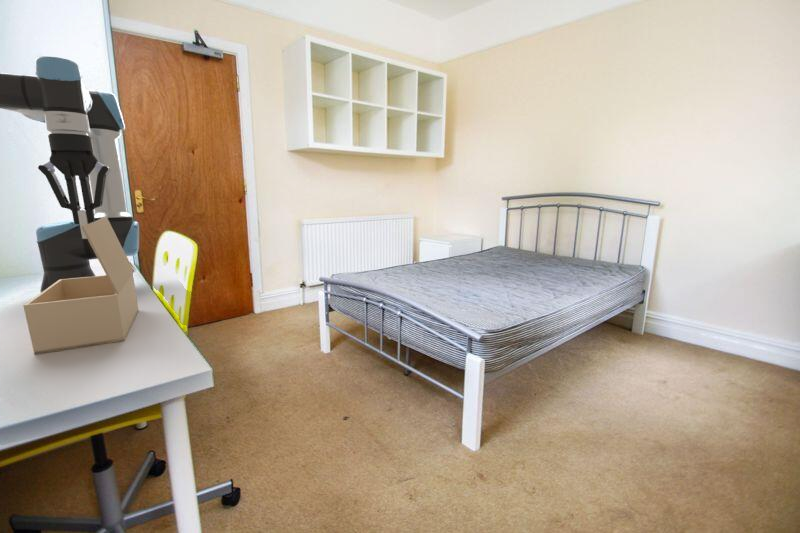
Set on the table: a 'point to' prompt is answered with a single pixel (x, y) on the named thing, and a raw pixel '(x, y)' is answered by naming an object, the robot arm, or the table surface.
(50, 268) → the robot arm
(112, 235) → the carton lid
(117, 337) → the carton
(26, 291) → the table surface
